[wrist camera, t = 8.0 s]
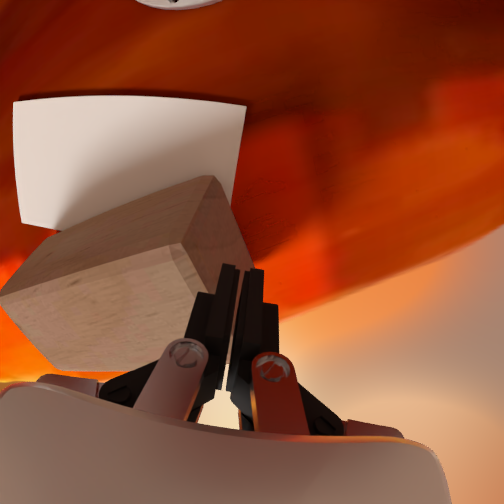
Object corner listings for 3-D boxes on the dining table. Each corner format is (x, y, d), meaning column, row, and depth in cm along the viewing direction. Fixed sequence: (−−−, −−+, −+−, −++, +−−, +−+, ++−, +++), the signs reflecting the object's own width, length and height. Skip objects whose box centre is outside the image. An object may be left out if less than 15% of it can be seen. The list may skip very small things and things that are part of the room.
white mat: (17, 101, 19) (13, 102, 19) (246, 106, 20) (246, 106, 20) (25, 220, 26) (21, 222, 25) (222, 256, 27) (221, 260, 26)
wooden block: (182, 238, 13) (-10, 298, 18) (252, 367, 19) (57, 374, 23) (218, 166, 22) (46, 235, 26) (260, 271, 27) (94, 306, 31)
